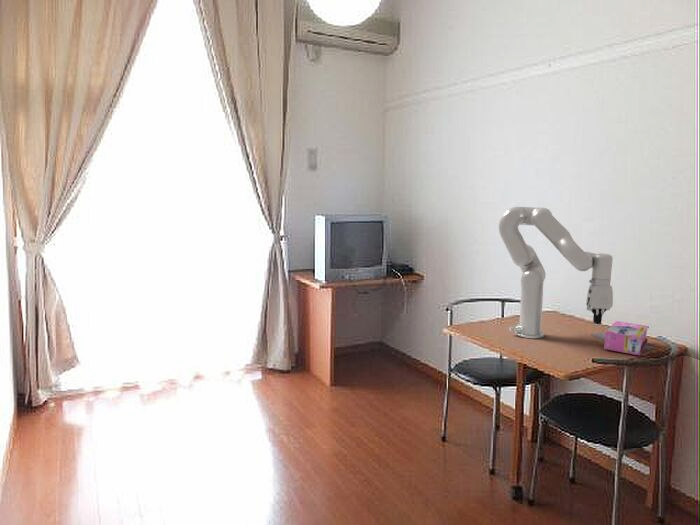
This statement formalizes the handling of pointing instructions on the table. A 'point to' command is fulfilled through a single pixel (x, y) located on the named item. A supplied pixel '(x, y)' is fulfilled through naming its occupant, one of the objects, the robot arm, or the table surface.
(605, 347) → the gum box
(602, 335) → the mat
